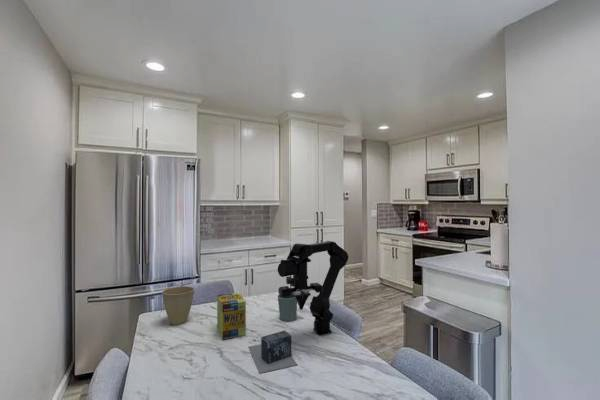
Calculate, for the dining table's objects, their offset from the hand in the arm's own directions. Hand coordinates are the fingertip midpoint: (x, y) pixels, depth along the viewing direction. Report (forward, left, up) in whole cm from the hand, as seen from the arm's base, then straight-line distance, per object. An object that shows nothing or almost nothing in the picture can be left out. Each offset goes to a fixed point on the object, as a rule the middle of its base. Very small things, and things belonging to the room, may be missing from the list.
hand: (301, 309), depth 125 cm
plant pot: (+50, -41, -13) cm, 66 cm away
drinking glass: (-2, -24, -13) cm, 27 cm away
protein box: (+27, -20, -13) cm, 36 cm away
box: (+9, +9, -9) cm, 15 cm away
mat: (+15, +8, -13) cm, 22 cm away
